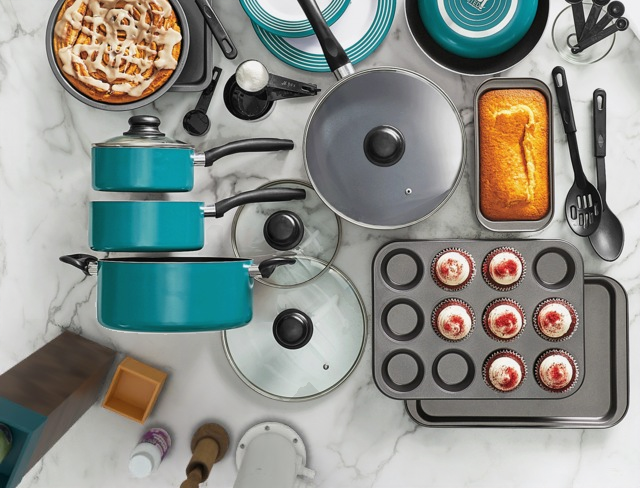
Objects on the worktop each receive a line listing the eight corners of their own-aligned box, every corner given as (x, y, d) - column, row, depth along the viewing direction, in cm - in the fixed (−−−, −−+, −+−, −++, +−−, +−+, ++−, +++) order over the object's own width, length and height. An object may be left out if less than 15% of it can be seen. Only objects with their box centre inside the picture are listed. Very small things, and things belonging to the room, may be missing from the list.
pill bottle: (177, 436, 122) (162, 462, 113) (162, 461, 123) (146, 489, 113) (151, 420, 122) (134, 445, 113) (136, 445, 123) (118, 472, 113)
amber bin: (167, 374, 122) (160, 383, 118) (150, 414, 122) (142, 425, 118) (127, 356, 122) (118, 364, 118) (110, 396, 122) (100, 406, 118)
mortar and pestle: (225, 462, 122) (203, 519, 104) (190, 455, 122) (162, 510, 104) (232, 426, 122) (211, 477, 104) (197, 419, 122) (170, 469, 104)
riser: (117, 351, 122) (46, 416, 94) (95, 401, 123) (19, 481, 95) (66, 329, 122) (-19, 387, 94) (45, 379, 123) (-46, 452, 95)
